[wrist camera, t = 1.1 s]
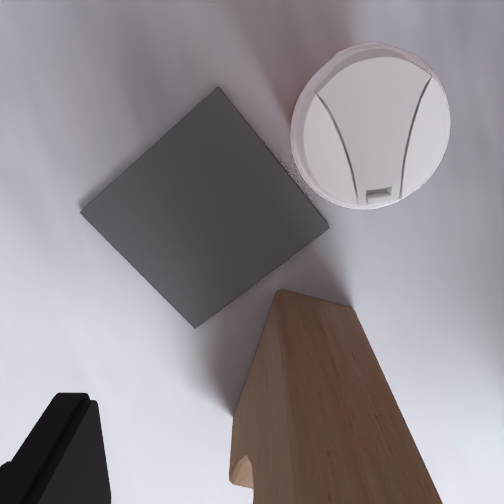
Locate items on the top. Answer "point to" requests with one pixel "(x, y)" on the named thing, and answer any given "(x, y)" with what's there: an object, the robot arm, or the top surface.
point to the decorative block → (322, 415)
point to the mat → (205, 211)
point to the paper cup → (370, 126)
